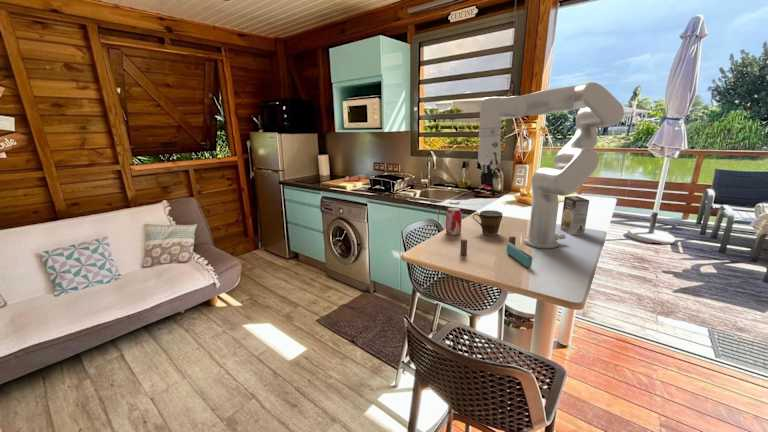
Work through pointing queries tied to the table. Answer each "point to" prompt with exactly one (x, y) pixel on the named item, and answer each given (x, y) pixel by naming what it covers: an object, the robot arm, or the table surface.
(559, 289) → the table surface
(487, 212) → the ceramic cup
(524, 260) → the bar
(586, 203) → the coffee box
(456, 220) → the soda can
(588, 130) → the robot arm
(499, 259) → the table surface
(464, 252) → the gate posts
